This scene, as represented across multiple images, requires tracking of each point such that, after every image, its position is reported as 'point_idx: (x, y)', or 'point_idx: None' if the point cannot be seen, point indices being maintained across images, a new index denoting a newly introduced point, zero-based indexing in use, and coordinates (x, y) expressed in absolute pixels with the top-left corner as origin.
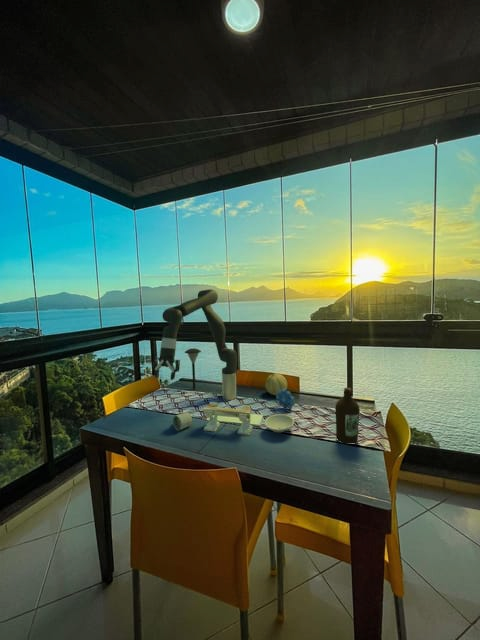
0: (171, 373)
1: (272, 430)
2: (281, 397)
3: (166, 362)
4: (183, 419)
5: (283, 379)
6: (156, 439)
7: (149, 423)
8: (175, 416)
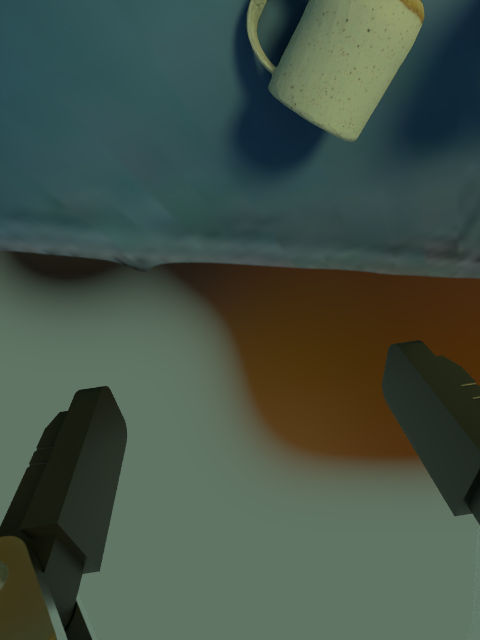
0: (448, 494)
1: None
2: None
3: None
4: (370, 115)
5: None
6: (243, 220)
7: (67, 63)
8: (298, 99)
